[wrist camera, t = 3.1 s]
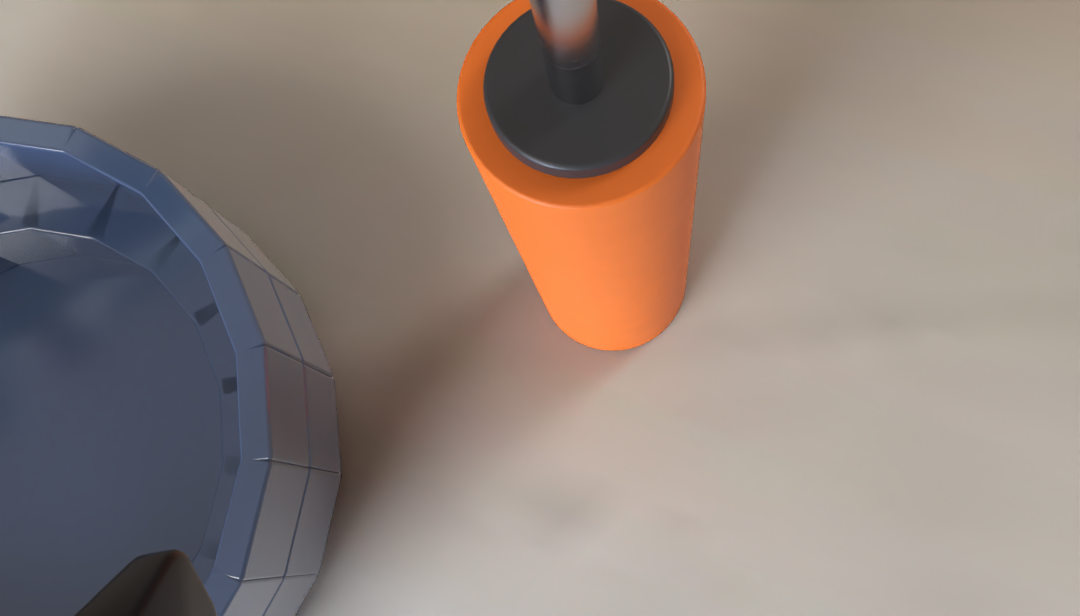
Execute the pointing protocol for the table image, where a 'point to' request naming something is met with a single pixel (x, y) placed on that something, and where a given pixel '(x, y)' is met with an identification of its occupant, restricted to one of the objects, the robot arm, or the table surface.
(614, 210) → the screwdriver
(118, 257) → the bowl
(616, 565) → the table surface
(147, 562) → the robot arm
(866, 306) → the table surface
